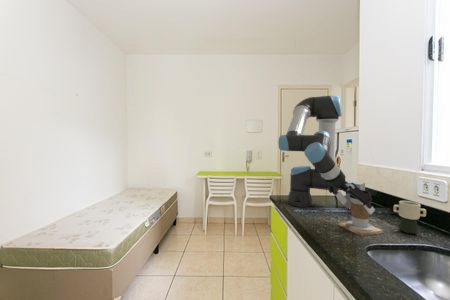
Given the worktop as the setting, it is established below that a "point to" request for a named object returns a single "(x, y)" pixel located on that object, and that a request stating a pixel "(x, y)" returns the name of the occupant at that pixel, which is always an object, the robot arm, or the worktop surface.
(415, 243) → the worktop surface
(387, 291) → the worktop surface
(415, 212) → the character mug
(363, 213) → the coffee cup
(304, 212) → the worktop surface
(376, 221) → the worktop surface
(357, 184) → the skincare box
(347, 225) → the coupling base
